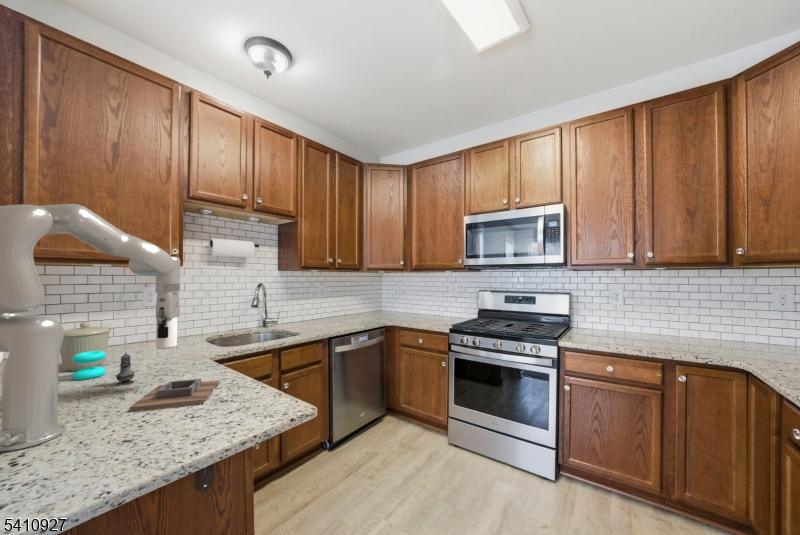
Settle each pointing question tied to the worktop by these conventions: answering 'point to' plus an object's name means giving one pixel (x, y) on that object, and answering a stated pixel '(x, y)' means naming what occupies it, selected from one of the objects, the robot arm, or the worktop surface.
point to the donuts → (90, 371)
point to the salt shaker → (125, 371)
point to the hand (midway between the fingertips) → (166, 335)
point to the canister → (83, 345)
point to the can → (172, 335)
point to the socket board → (176, 394)
